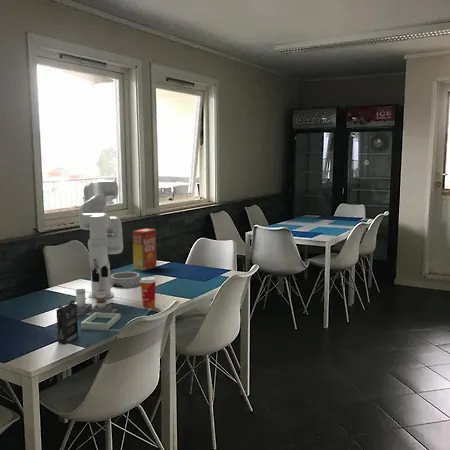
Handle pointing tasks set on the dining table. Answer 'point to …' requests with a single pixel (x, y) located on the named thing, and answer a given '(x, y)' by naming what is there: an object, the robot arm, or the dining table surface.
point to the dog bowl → (125, 279)
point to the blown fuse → (101, 299)
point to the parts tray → (100, 326)
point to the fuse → (80, 298)
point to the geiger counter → (67, 323)
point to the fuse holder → (94, 309)
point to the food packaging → (144, 249)
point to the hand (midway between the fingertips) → (100, 279)
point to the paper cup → (148, 291)
